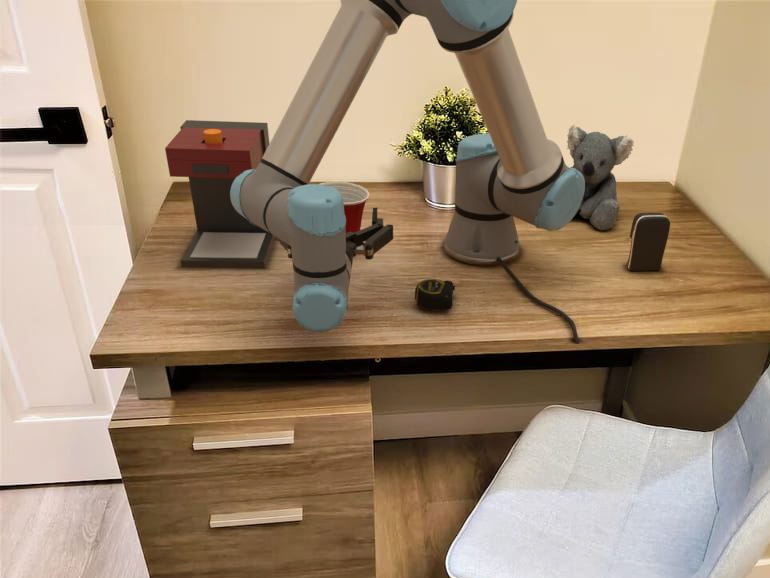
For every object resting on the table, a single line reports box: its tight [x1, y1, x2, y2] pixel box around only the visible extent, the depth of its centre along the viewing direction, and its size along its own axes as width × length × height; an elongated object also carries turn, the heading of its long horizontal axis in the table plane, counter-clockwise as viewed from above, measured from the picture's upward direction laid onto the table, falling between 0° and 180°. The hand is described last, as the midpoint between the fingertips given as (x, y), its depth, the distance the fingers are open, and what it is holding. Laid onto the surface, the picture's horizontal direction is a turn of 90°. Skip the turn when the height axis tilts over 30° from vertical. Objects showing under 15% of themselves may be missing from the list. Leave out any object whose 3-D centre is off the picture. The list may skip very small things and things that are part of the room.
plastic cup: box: [319, 180, 370, 240], centre depth 144 cm, size 11×11×12 cm
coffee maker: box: [164, 119, 276, 269], centre depth 138 cm, size 18×15×22 cm
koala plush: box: [566, 124, 635, 231], centre depth 165 cm, size 17×18×20 cm
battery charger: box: [626, 211, 671, 272], centre depth 144 cm, size 7×4×11 cm, turn 100°
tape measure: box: [414, 278, 456, 312], centre depth 128 cm, size 7×7×4 cm
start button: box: [203, 129, 223, 144], centre depth 129 cm, size 3×3×2 cm
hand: (337, 213), depth 133 cm, fingers open, 13 cm apart
